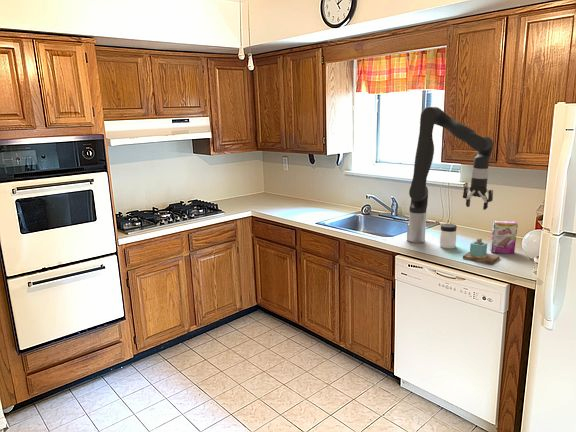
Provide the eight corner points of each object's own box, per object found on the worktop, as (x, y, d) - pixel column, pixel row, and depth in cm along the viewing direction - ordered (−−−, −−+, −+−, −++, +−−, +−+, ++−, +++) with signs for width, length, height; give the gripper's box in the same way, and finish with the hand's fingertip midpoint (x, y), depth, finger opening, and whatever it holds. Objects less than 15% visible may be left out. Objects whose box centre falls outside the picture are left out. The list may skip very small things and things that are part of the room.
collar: (469, 254, 221) (470, 243, 220) (474, 252, 225) (475, 240, 224) (481, 257, 217) (482, 245, 216) (486, 254, 221) (487, 243, 220)
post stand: (462, 258, 221) (464, 239, 219) (471, 253, 229) (472, 234, 227) (491, 264, 212) (493, 244, 210) (499, 258, 220) (501, 239, 217)
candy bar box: (491, 253, 228) (494, 222, 224) (489, 250, 233) (492, 220, 229) (514, 254, 226) (518, 223, 222) (512, 251, 230) (515, 221, 226)
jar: (444, 249, 236) (446, 227, 233) (436, 245, 244) (437, 224, 241) (459, 247, 239) (460, 226, 236) (449, 243, 246) (451, 222, 243)
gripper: (462, 176, 224) (459, 207, 228) (491, 179, 214) (487, 211, 218) (469, 174, 229) (465, 204, 233) (497, 177, 219) (493, 209, 223)
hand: (476, 208), depth 225 cm, fingers open, 8 cm apart
